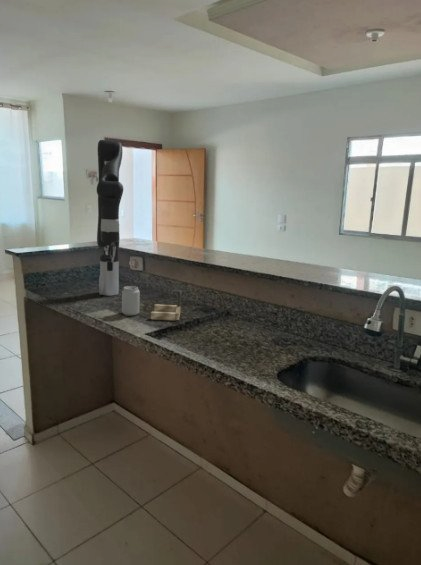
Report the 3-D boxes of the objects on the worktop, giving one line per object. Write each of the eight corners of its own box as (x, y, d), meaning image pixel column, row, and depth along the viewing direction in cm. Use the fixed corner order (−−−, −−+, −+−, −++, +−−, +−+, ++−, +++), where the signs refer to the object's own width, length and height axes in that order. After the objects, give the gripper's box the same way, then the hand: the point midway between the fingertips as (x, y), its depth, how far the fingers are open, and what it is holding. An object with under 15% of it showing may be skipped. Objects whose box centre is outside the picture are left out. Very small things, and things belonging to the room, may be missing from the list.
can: (142, 313, 178) (143, 286, 176) (132, 317, 172) (132, 290, 169) (128, 310, 181) (128, 284, 179) (118, 314, 175) (118, 287, 172)
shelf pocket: (150, 319, 170) (151, 296, 168) (154, 310, 183) (155, 289, 181) (178, 320, 171) (179, 297, 168) (180, 311, 183) (181, 290, 181)
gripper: (105, 228, 175) (105, 267, 179) (96, 230, 162) (97, 273, 166) (122, 229, 175) (122, 268, 179) (115, 231, 162) (115, 274, 166)
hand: (110, 270), depth 172 cm, fingers closed
